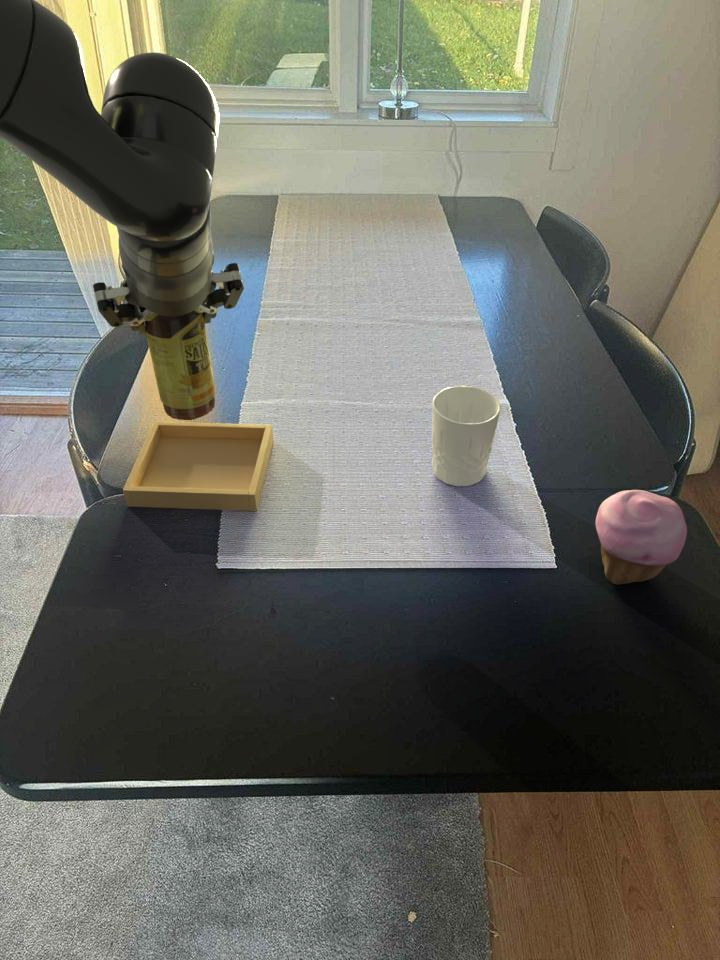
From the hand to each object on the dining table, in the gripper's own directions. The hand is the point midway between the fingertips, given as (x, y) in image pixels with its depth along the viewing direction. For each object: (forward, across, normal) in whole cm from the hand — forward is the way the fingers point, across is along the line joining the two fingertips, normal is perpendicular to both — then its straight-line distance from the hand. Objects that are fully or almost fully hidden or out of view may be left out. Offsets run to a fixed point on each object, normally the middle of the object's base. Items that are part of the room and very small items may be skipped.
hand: (173, 319), depth 76 cm
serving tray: (+13, 0, +16) cm, 20 cm away
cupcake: (-9, -40, +38) cm, 56 cm away
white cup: (+6, -30, +23) cm, 39 cm away
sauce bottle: (+6, 0, +9) cm, 11 cm away
